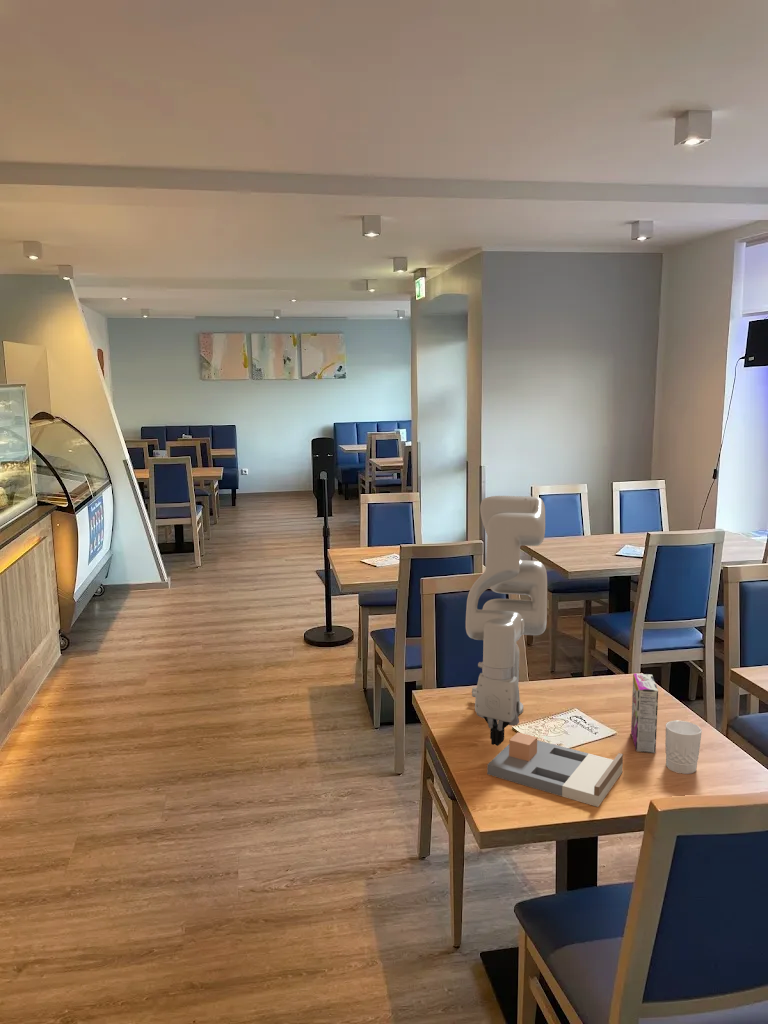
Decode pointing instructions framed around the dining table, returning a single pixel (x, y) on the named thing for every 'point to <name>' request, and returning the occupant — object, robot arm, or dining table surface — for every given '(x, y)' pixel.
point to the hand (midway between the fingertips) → (497, 743)
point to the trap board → (560, 772)
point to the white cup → (682, 746)
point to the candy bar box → (644, 713)
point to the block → (523, 746)
